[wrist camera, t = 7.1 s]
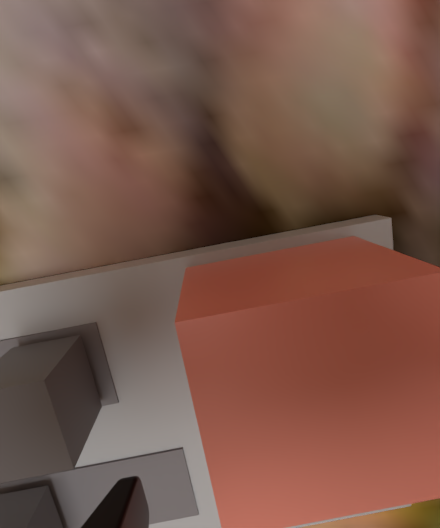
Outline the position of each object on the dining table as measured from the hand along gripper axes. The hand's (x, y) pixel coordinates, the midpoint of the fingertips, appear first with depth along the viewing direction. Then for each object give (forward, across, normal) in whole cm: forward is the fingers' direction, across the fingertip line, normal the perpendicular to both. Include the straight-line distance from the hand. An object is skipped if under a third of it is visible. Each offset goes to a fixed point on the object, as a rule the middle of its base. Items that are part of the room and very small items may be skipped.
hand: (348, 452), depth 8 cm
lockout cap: (+6, 0, 0) cm, 6 cm away
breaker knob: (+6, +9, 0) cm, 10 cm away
